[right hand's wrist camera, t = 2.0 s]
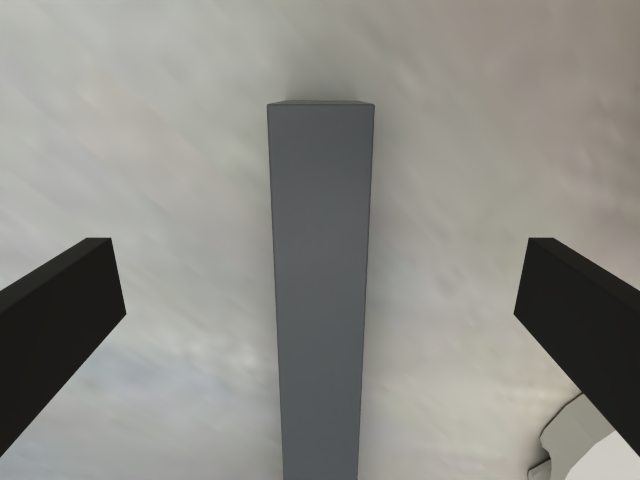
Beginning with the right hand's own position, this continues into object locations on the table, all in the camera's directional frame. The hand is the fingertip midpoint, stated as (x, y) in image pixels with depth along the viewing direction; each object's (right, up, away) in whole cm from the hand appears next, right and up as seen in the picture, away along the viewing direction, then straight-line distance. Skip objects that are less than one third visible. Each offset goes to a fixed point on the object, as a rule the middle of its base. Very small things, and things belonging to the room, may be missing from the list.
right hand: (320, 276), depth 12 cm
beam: (0, -14, +22) cm, 26 cm away
